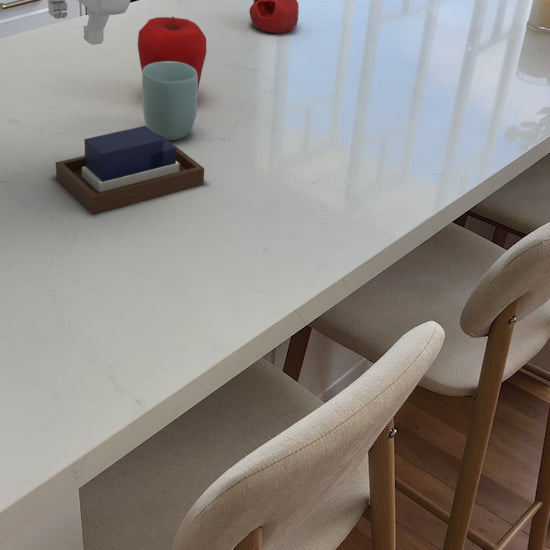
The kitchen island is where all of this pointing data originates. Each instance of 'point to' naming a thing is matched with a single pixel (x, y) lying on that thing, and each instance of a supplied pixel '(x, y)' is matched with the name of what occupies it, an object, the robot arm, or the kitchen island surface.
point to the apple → (172, 43)
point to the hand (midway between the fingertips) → (75, 29)
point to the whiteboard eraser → (127, 158)
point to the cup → (169, 98)
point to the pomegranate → (274, 15)
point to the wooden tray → (132, 193)
